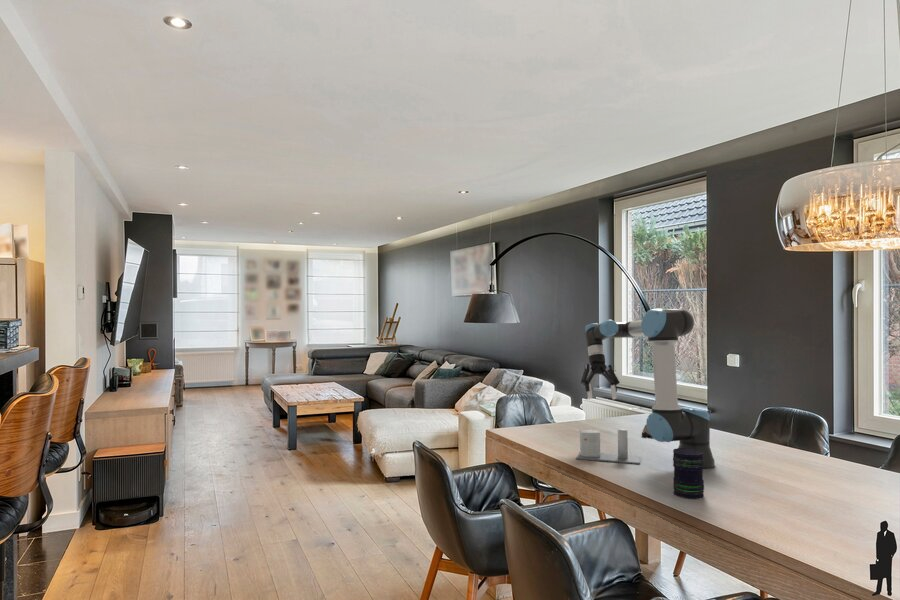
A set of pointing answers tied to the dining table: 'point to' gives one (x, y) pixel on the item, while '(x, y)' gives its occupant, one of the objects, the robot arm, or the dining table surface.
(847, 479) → the dining table surface
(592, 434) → the small box
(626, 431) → the base plate with uprights
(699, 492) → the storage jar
